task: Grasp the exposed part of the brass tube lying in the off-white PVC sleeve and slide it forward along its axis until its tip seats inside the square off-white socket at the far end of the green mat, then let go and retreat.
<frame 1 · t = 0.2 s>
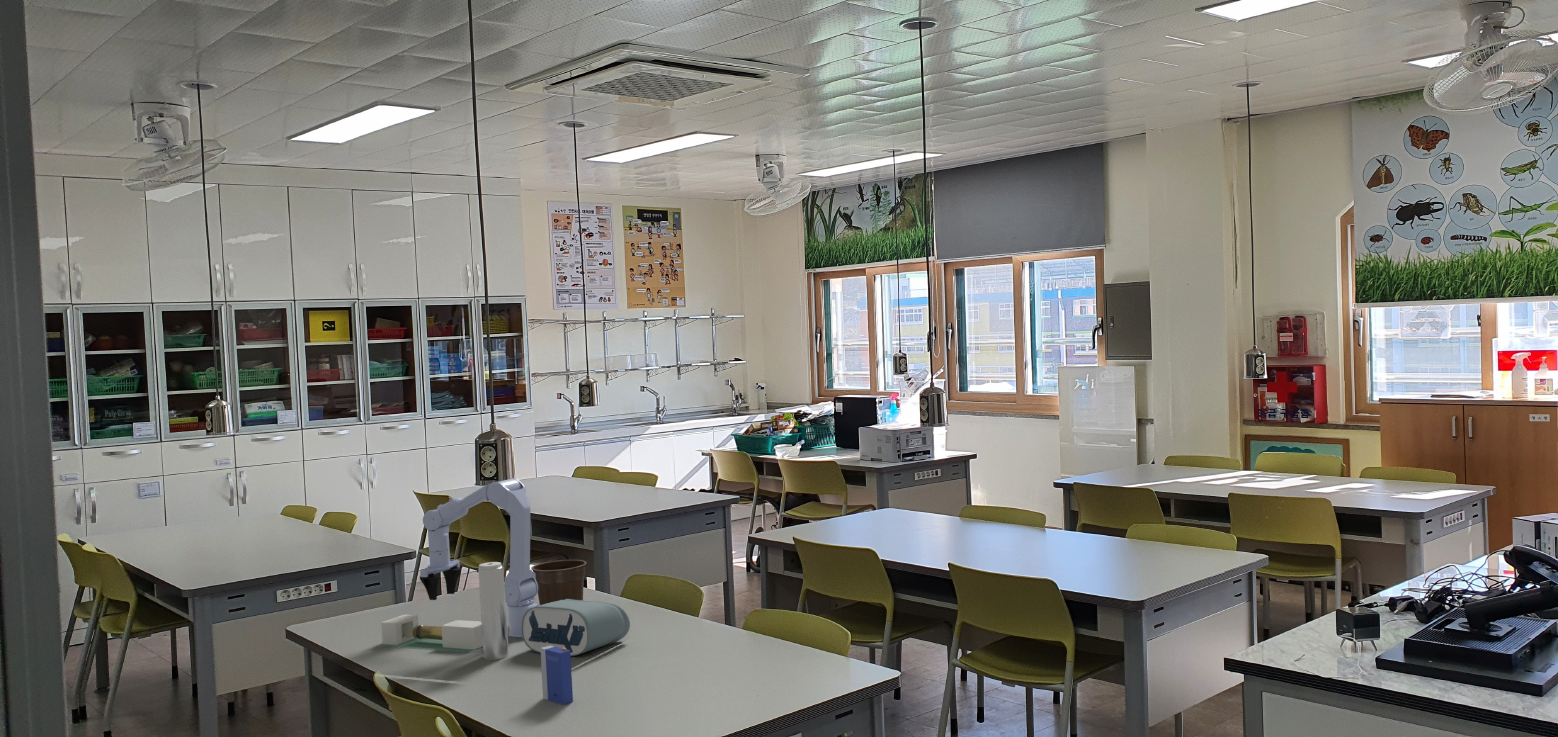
hand: (442, 596, 320), 10 cm above the table, tool pointing down, fingers open, 7 cm apart
white tall cylinder: (496, 658, 287), on the table
mat: (436, 644, 304), on the table
sleeve: (464, 644, 300), resting on mat
socket: (401, 640, 309), resting on mat
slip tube: (447, 633, 302), point 3 cm above the table, slide at 0.0 cm
pencil case: (578, 648, 293), on the table
walkman: (557, 700, 249), on the table
plant pot: (562, 618, 328), on the table
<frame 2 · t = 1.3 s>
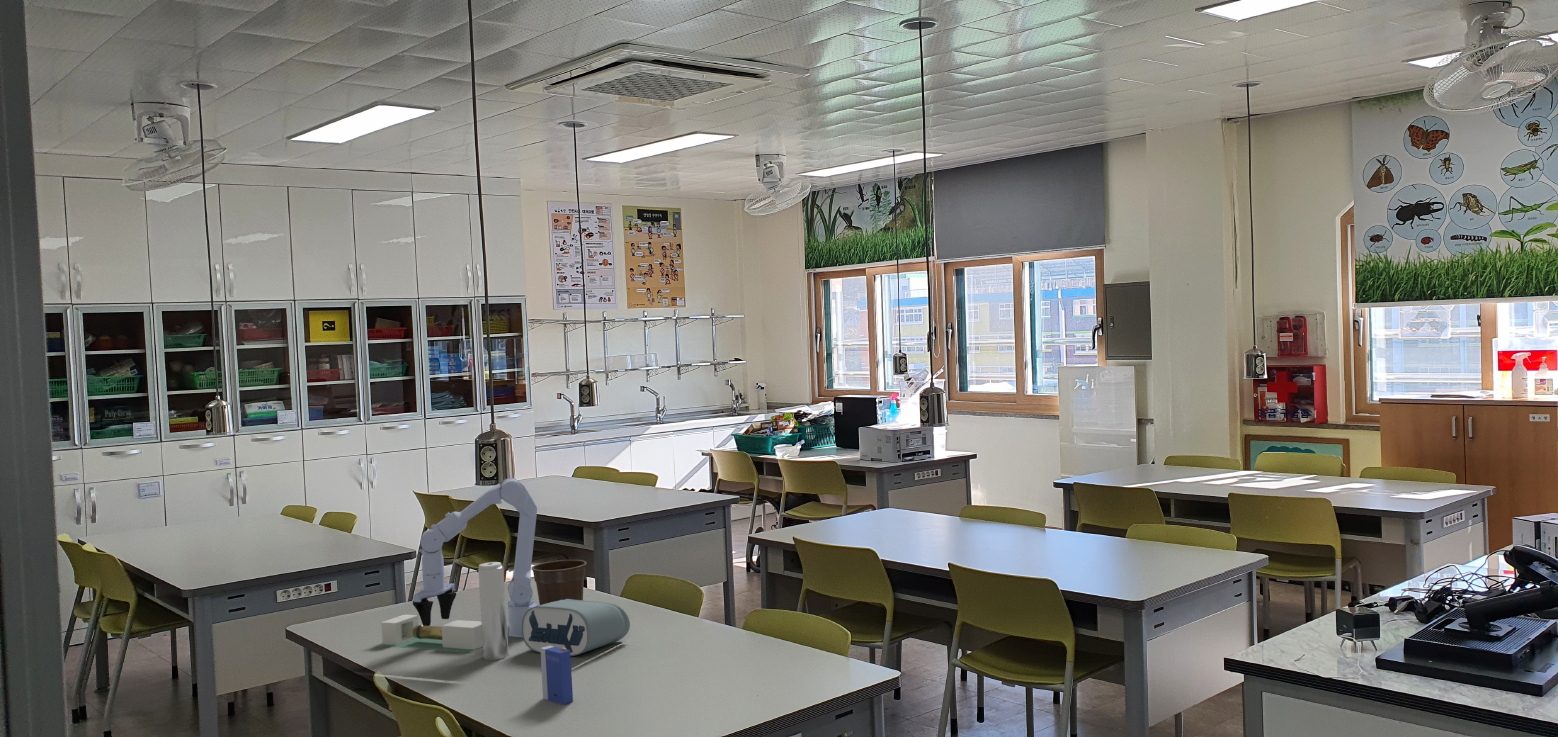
hand: (436, 622, 303), 6 cm above the table, tool pointing down, fingers open, 7 cm apart
nothing on the table moved.
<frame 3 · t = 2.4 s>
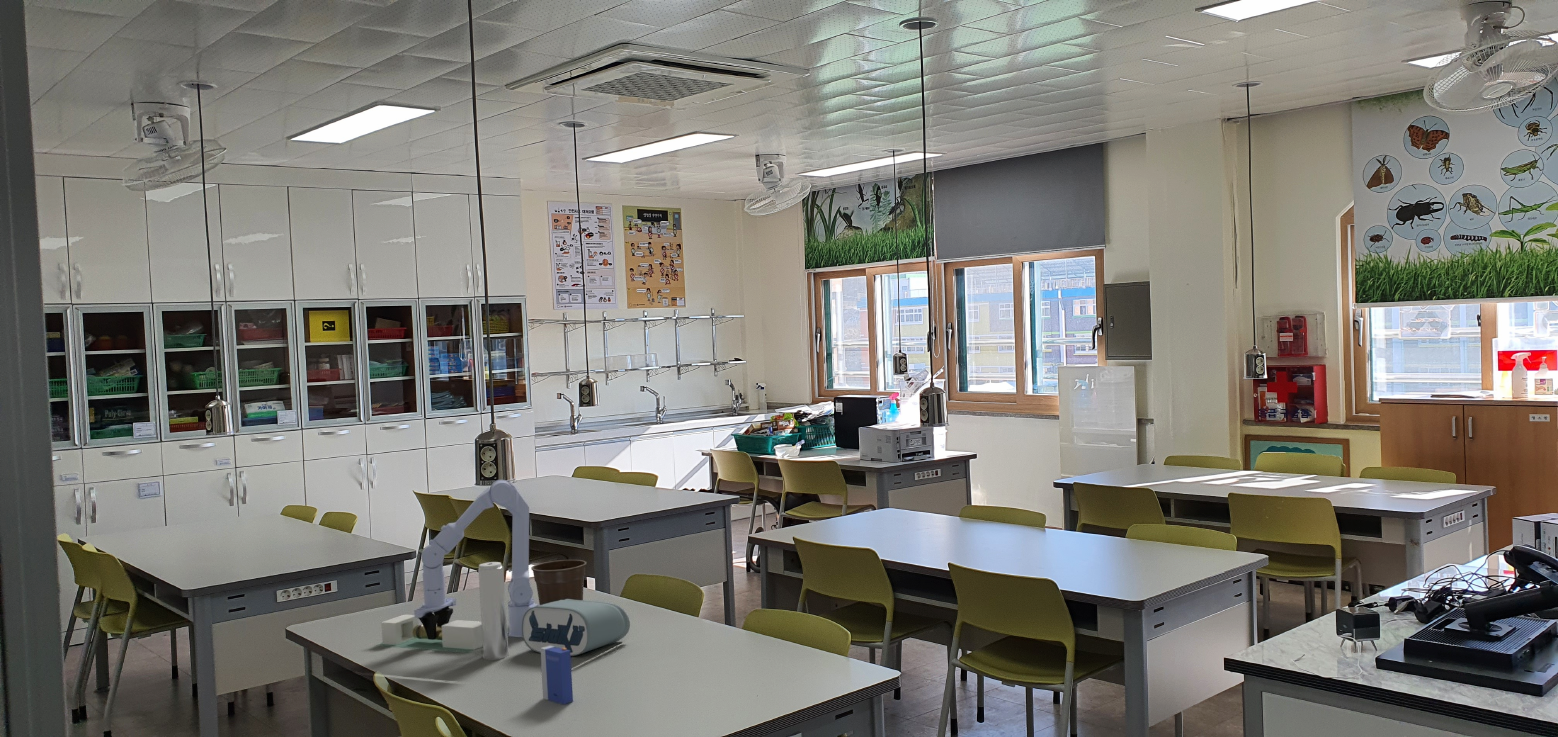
hand: (437, 637, 304), 2 cm above the table, tool pointing down, fingers closed on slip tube, 4 cm apart
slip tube: (447, 633, 302), point 3 cm above the table, slide at 0.0 cm, touching gripper
everything else where it was.
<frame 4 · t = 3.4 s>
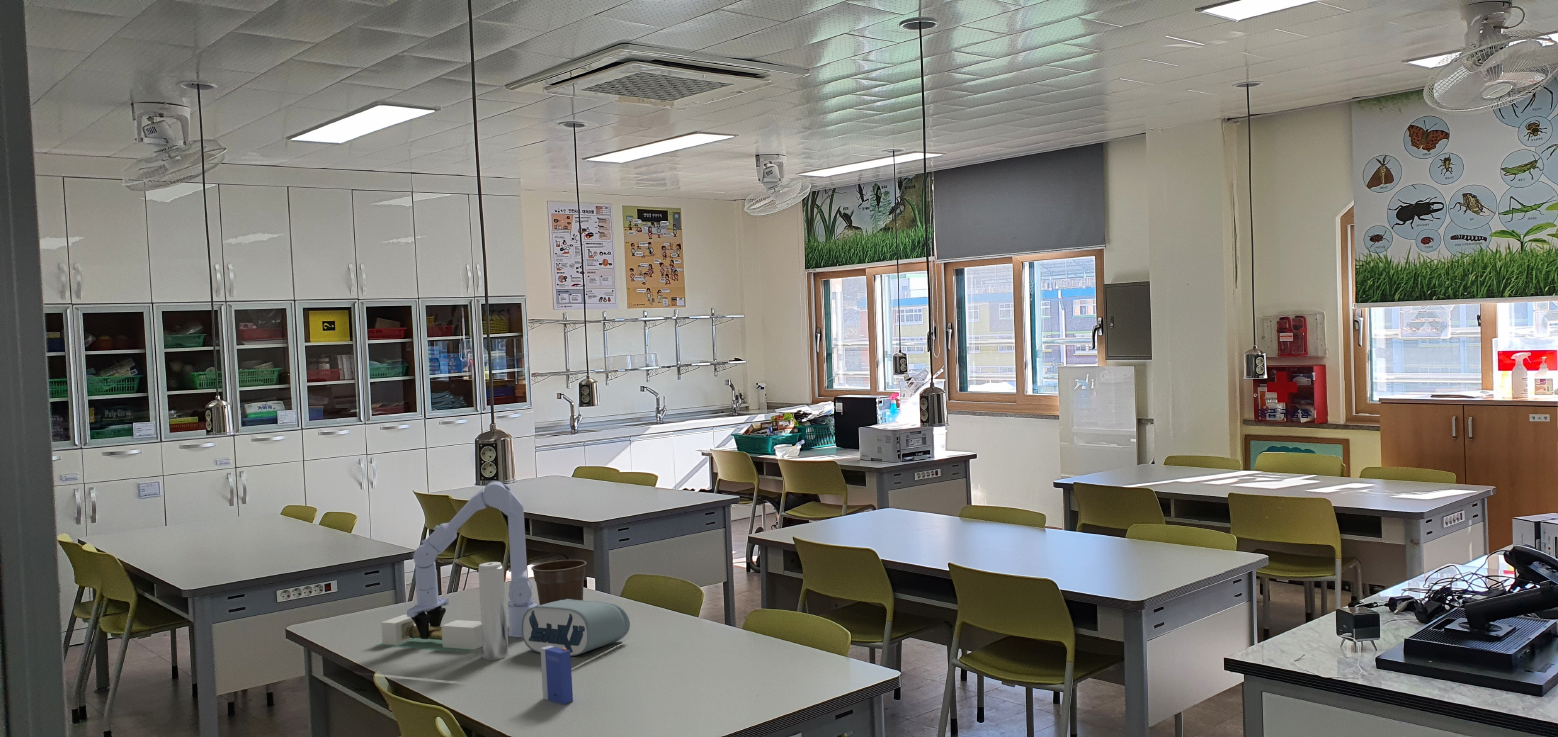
hand: (429, 636, 305), 2 cm above the table, tool pointing down, fingers closed on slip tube, 4 cm apart
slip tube: (439, 633, 303), point 3 cm above the table, slide at 2.6 cm, touching gripper
everything else where it was.
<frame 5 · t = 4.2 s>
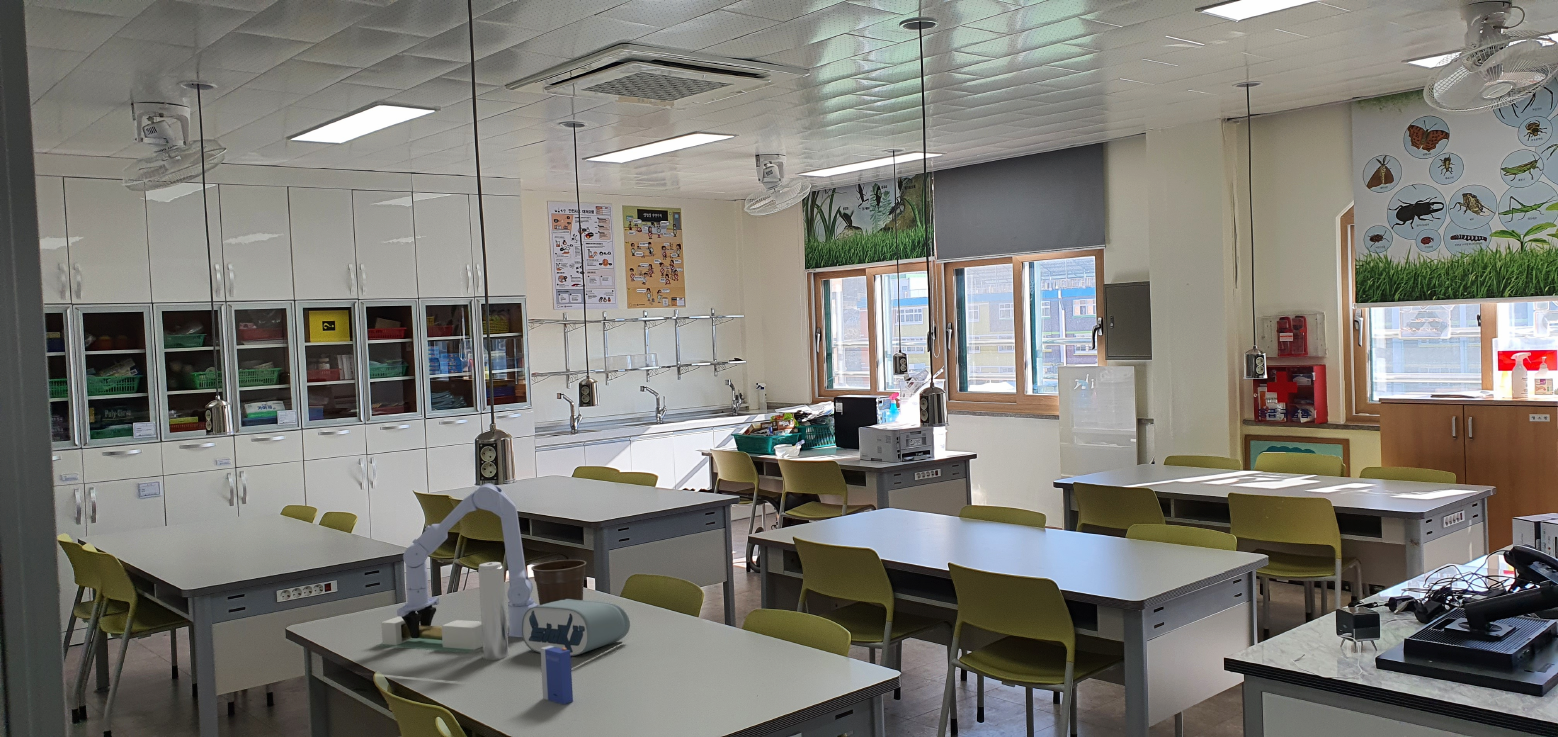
hand: (420, 635, 306), 2 cm above the table, tool pointing down, fingers closed on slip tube, 4 cm apart
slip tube: (430, 632, 305), point 3 cm above the table, slide at 5.9 cm, touching gripper
everything else where it was.
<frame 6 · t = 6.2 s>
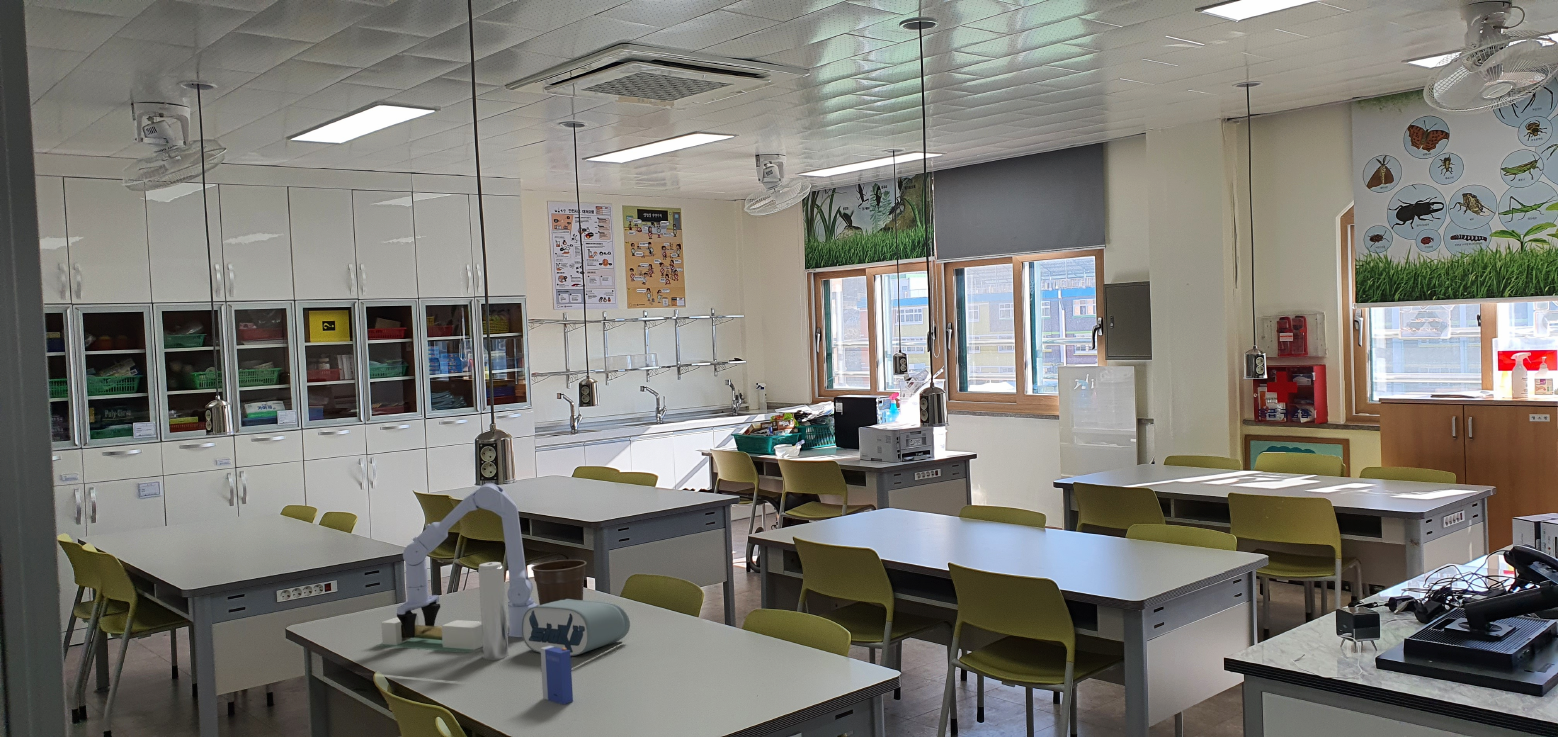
hand: (420, 633, 306), 3 cm above the table, tool pointing down, fingers open, 7 cm apart
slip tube: (430, 632, 305), point 3 cm above the table, slide at 5.9 cm
everything else where it was.
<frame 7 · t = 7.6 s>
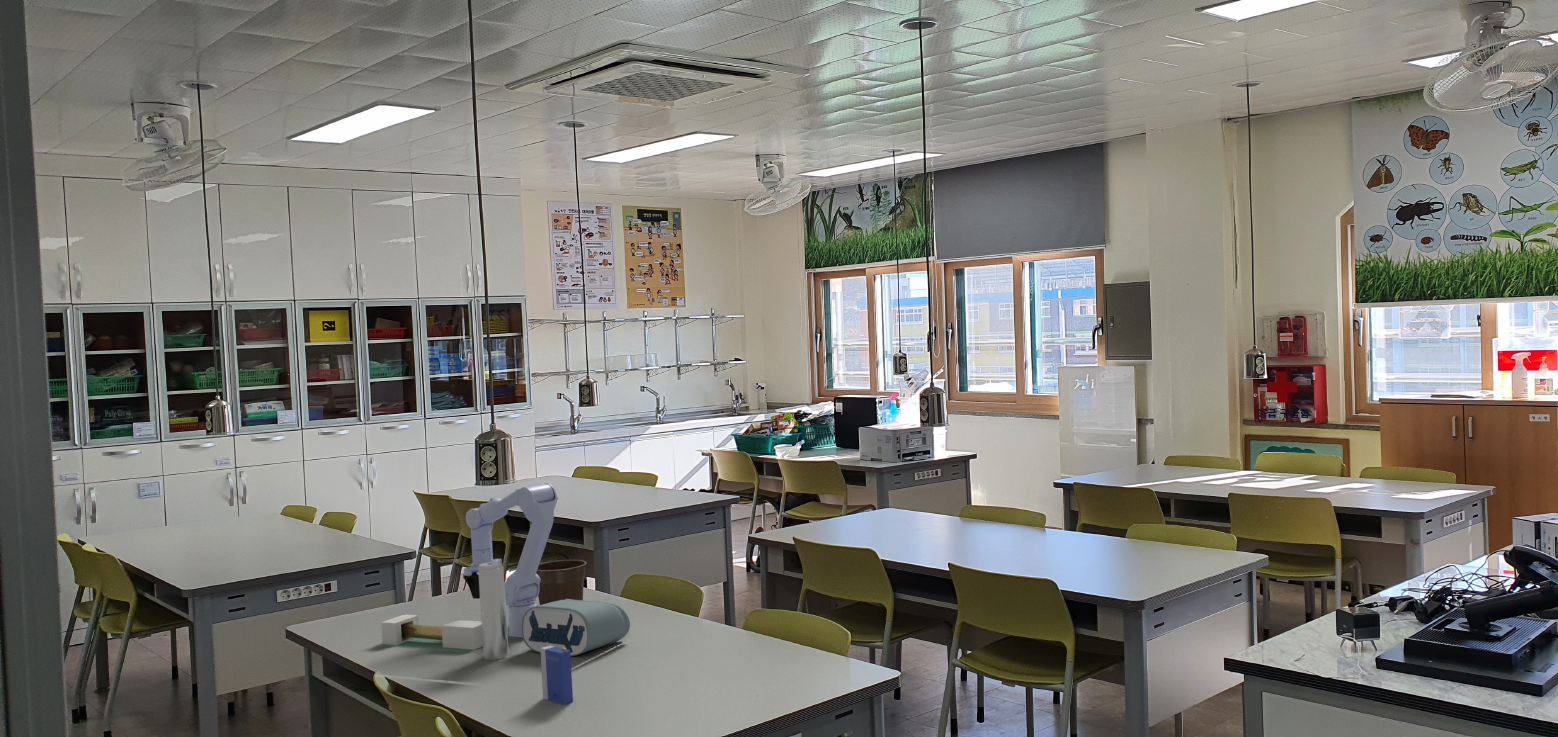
hand: (484, 595, 319), 10 cm above the table, tool pointing down, fingers open, 7 cm apart
nothing on the table moved.
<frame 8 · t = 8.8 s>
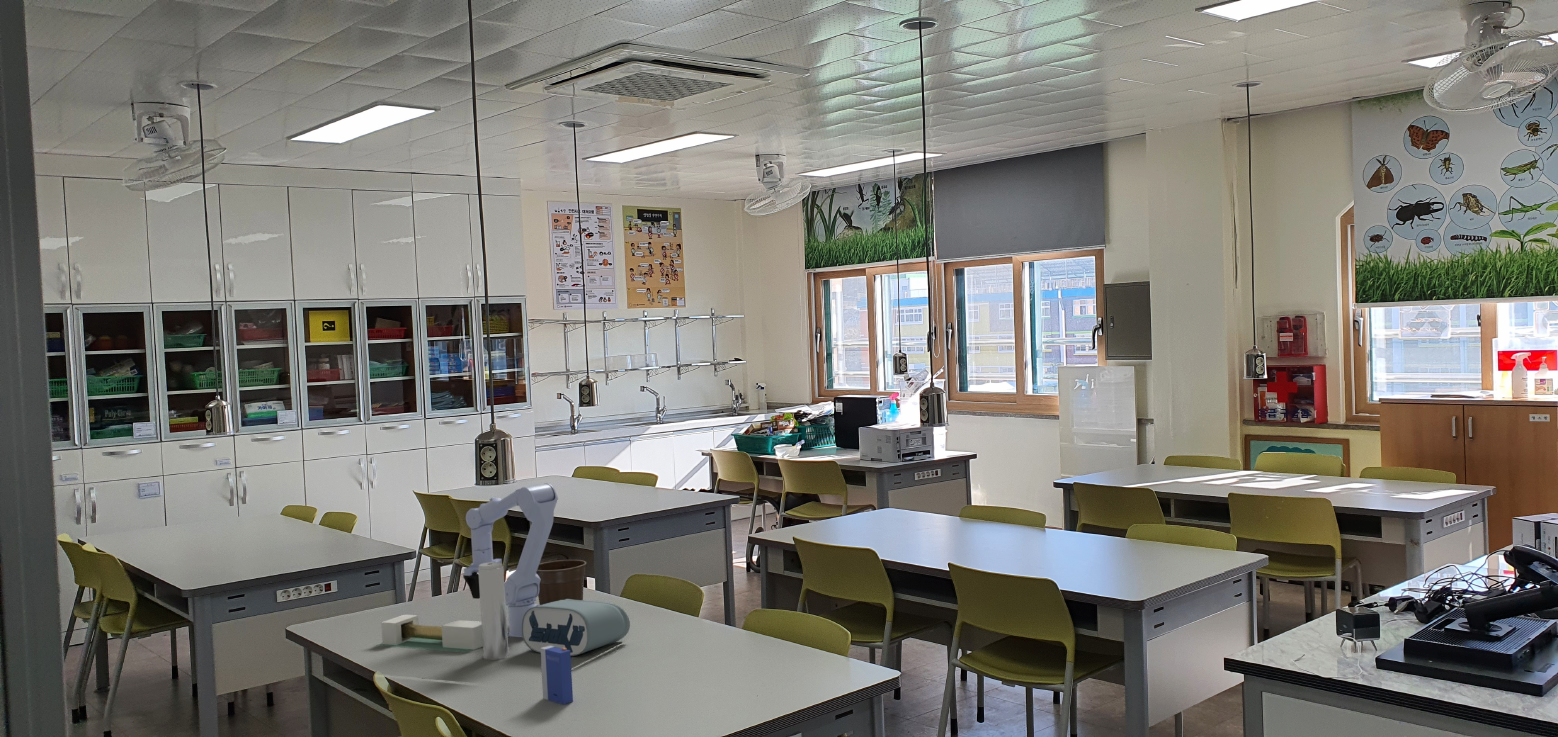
hand: (484, 595, 319), 10 cm above the table, tool pointing down, fingers open, 7 cm apart
nothing on the table moved.
at the end: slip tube slide at 5.9 cm; the gripper is holding nothing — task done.
